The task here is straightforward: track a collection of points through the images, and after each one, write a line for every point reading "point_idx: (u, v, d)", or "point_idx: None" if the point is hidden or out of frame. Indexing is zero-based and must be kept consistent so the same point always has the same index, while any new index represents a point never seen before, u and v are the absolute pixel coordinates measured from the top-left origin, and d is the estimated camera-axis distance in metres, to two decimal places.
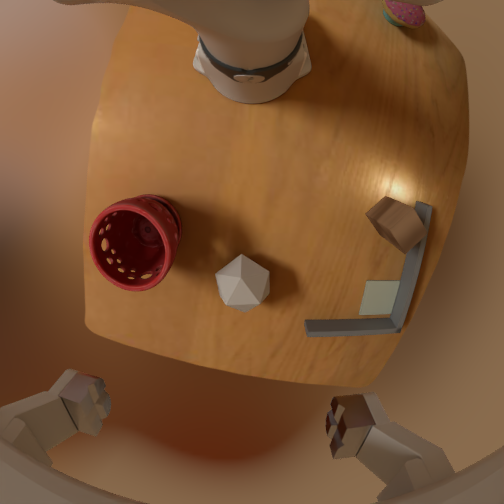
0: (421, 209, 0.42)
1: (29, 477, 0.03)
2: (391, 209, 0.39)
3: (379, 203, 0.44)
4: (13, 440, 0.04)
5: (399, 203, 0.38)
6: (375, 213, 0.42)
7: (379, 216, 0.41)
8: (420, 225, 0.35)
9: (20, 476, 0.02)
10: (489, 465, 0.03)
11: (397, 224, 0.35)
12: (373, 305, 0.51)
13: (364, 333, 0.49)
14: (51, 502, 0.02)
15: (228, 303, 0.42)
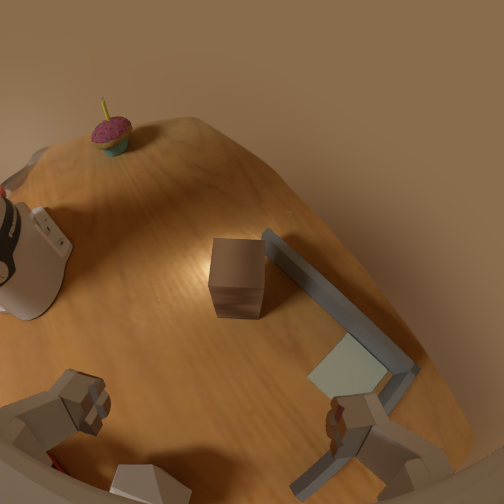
0: (267, 246, 0.36)
1: (29, 477, 0.03)
2: None
3: None
4: (13, 440, 0.04)
5: None
6: None
7: None
8: (245, 243, 0.27)
9: (20, 476, 0.02)
10: (489, 465, 0.03)
11: (211, 271, 0.25)
12: (353, 389, 0.28)
13: None
14: (51, 502, 0.02)
15: None
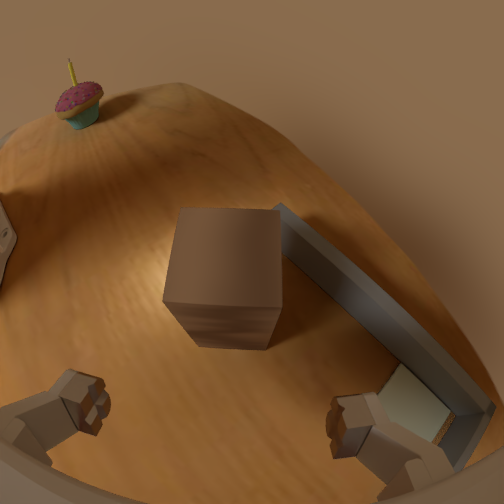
0: None
1: (29, 477, 0.03)
2: None
3: None
4: (13, 440, 0.04)
5: None
6: None
7: None
8: (240, 216, 0.13)
9: (20, 476, 0.02)
10: (489, 465, 0.03)
11: (170, 272, 0.12)
12: None
13: None
14: (51, 502, 0.02)
15: None
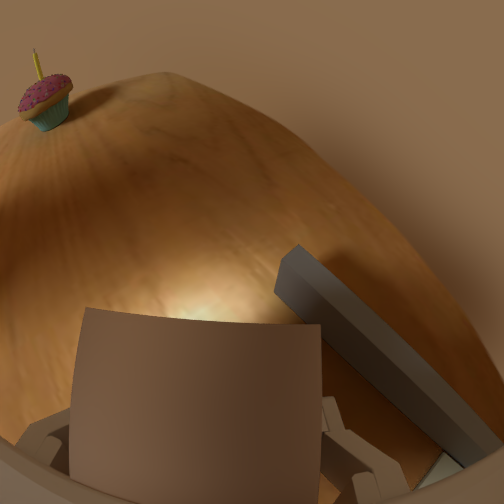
0: (292, 290, 0.14)
1: (29, 477, 0.03)
2: None
3: None
4: (50, 462, 0.04)
5: None
6: None
7: None
8: (219, 345, 0.05)
9: (20, 476, 0.02)
10: (489, 465, 0.03)
11: (73, 463, 0.03)
12: None
13: None
14: (51, 502, 0.02)
15: None
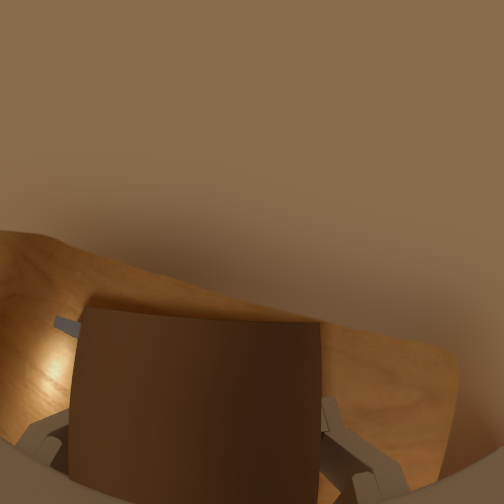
0: (69, 333, 0.24)
1: (29, 476, 0.03)
2: None
3: None
4: (50, 461, 0.04)
5: None
6: None
7: None
8: (218, 343, 0.05)
9: (20, 476, 0.02)
10: (489, 465, 0.03)
11: (72, 462, 0.03)
12: None
13: None
14: (51, 502, 0.02)
15: None
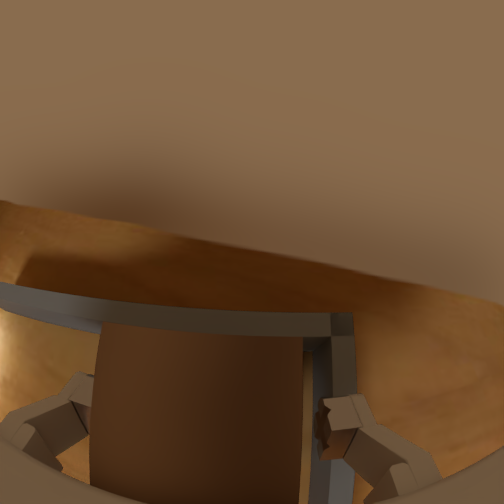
0: None
1: (29, 476, 0.03)
2: None
3: None
4: (23, 446, 0.04)
5: None
6: None
7: None
8: (218, 354, 0.06)
9: (20, 476, 0.02)
10: (489, 465, 0.03)
11: (93, 455, 0.04)
12: None
13: (345, 480, 0.09)
14: (51, 502, 0.02)
15: None
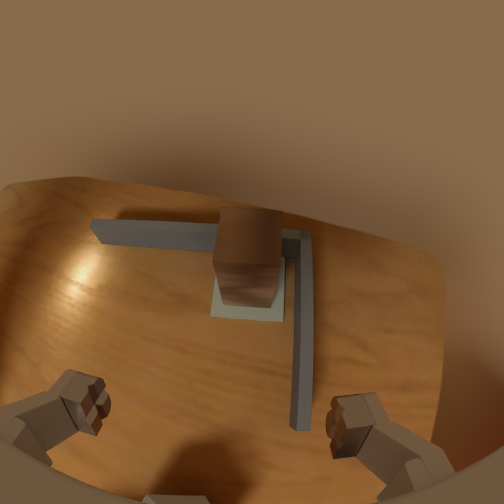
0: (102, 235, 0.31)
1: (29, 476, 0.03)
2: None
3: None
4: (13, 440, 0.04)
5: None
6: None
7: None
8: (258, 214, 0.22)
9: (20, 476, 0.02)
10: (489, 465, 0.03)
11: (216, 244, 0.21)
12: None
13: (309, 307, 0.25)
14: (51, 502, 0.02)
15: None
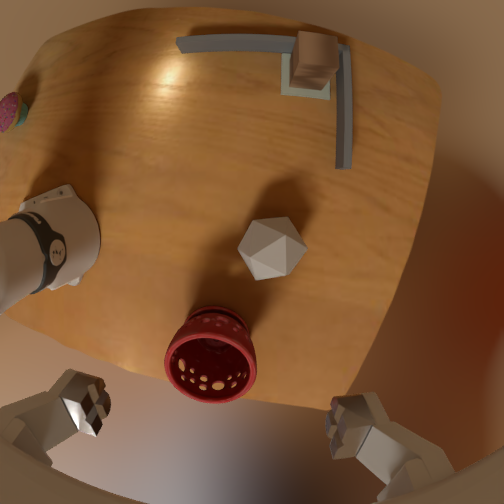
0: (185, 47, 0.33)
1: (29, 476, 0.03)
2: (294, 56, 0.30)
3: (289, 68, 0.35)
4: (13, 440, 0.04)
5: (294, 45, 0.29)
6: (291, 75, 0.33)
7: (293, 71, 0.32)
8: (323, 36, 0.26)
9: (20, 476, 0.02)
10: (489, 465, 0.03)
11: (300, 53, 0.26)
12: None
13: (349, 92, 0.33)
14: (51, 502, 0.02)
15: (284, 272, 0.36)
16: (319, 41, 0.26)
